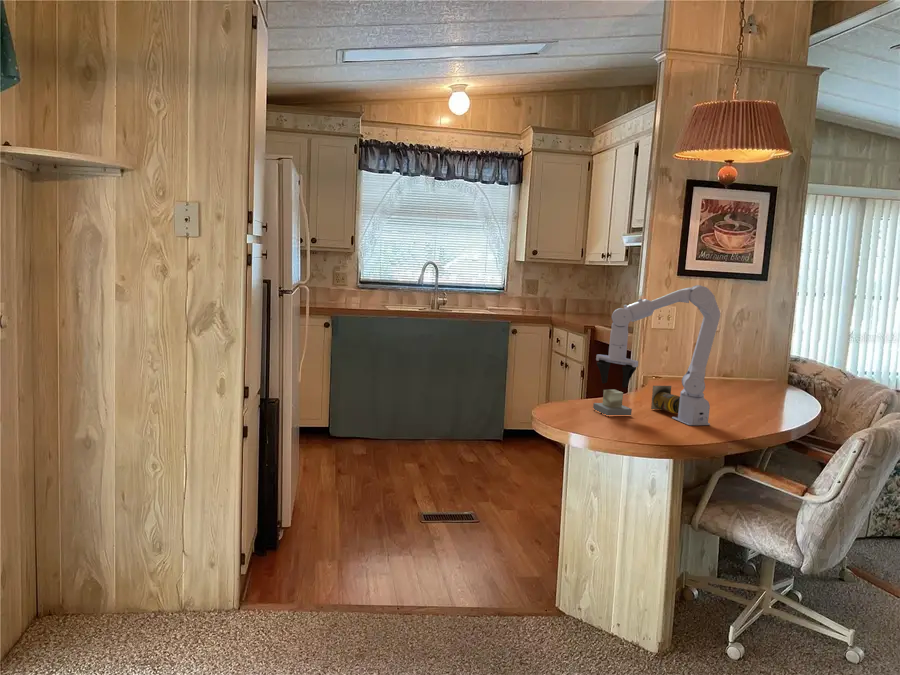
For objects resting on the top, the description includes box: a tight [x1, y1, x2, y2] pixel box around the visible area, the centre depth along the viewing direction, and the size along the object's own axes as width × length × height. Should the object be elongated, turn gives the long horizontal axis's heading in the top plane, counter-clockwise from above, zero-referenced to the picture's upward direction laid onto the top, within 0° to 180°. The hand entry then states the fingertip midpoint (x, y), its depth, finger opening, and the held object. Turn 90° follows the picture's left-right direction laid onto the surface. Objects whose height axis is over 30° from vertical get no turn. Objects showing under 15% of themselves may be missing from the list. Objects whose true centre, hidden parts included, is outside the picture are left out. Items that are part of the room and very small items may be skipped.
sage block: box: [602, 389, 624, 408], centre depth 224 cm, size 4×4×5 cm
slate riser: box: [592, 402, 633, 416], centre depth 225 cm, size 9×9×3 cm
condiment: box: [650, 385, 680, 414], centre depth 229 cm, size 7×8×12 cm
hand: (614, 385), depth 225 cm, fingers open, 7 cm apart
